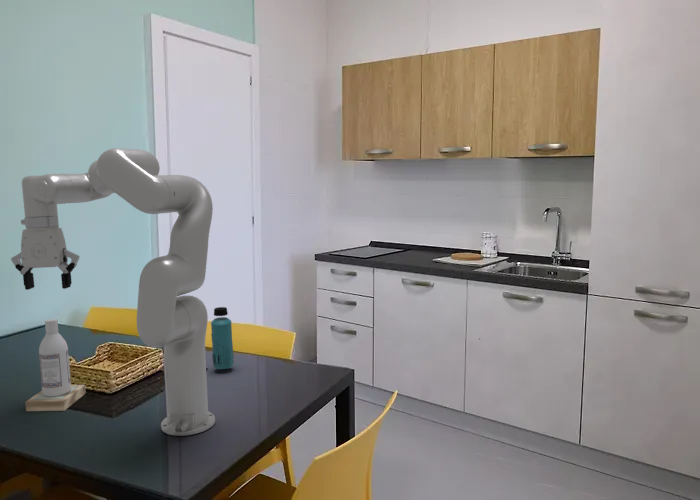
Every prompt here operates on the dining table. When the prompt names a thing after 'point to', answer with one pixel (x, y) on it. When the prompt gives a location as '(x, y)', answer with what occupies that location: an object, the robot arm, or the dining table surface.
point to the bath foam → (54, 362)
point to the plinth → (55, 400)
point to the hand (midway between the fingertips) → (48, 288)
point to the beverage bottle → (222, 340)
